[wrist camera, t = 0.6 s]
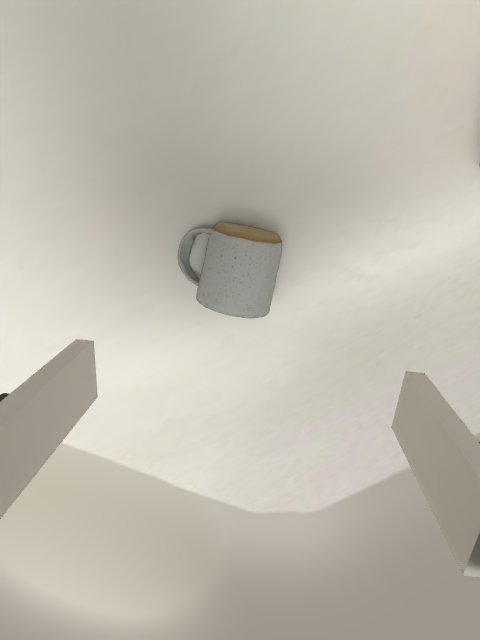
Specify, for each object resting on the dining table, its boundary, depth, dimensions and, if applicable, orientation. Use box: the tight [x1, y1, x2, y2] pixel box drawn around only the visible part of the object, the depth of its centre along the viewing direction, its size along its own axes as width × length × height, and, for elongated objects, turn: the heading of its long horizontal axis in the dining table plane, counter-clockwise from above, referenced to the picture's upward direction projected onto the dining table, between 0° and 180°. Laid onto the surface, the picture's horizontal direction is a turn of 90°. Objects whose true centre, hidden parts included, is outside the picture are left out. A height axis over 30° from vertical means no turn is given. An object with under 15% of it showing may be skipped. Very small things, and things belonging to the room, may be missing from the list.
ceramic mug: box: [178, 222, 282, 318], centre depth 38 cm, size 11×8×8 cm
